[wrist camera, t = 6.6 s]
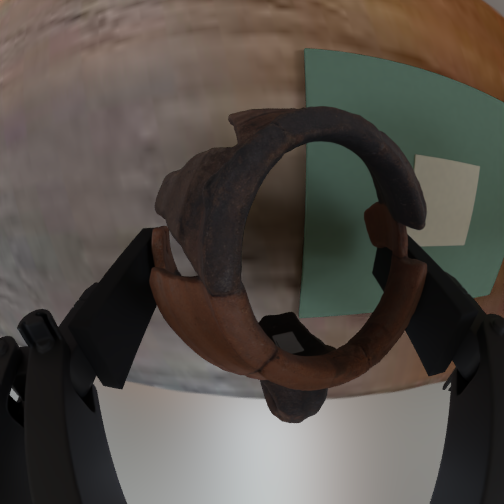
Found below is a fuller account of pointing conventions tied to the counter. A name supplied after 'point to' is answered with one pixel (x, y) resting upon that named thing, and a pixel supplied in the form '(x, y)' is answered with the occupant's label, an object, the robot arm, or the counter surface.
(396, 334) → the broken pottery ring
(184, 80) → the counter surface
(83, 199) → the counter surface
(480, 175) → the centre mat
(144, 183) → the counter surface
